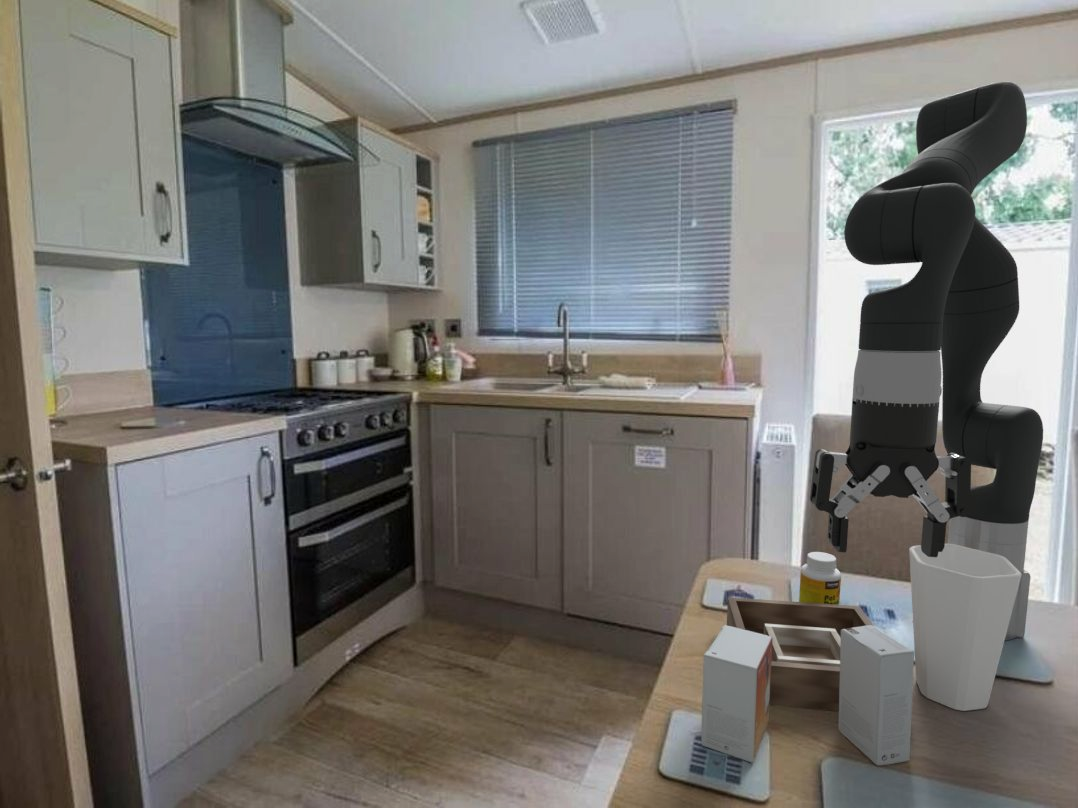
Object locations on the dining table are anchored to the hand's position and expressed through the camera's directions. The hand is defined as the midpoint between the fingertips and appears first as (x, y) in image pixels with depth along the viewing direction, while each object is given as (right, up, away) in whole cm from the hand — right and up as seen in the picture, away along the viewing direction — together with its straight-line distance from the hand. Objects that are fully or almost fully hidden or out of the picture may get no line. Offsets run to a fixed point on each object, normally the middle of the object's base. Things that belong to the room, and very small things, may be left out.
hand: (883, 552), depth 63 cm
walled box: (0, -19, +17) cm, 26 cm away
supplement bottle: (+7, -18, +30) cm, 36 cm away
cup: (+15, -20, +12) cm, 28 cm away
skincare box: (0, -22, +3) cm, 22 cm away
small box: (-14, -21, +5) cm, 26 cm away
